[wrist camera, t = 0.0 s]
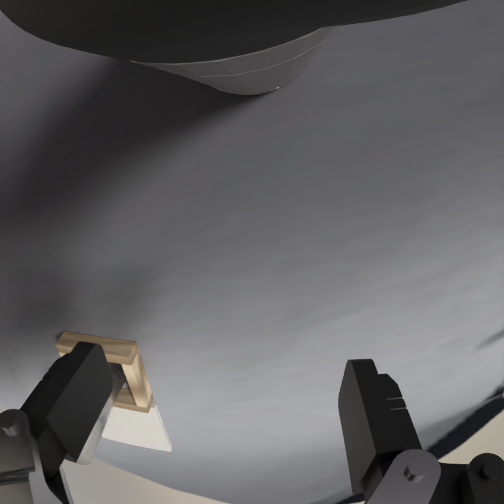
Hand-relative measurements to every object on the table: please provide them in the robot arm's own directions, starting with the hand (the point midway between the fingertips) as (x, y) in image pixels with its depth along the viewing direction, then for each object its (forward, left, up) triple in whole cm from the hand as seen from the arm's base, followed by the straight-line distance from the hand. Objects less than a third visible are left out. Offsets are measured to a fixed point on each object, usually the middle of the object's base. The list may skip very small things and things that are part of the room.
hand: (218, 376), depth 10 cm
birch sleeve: (+20, -17, -17) cm, 31 cm away
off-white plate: (+32, -18, -17) cm, 40 cm away
